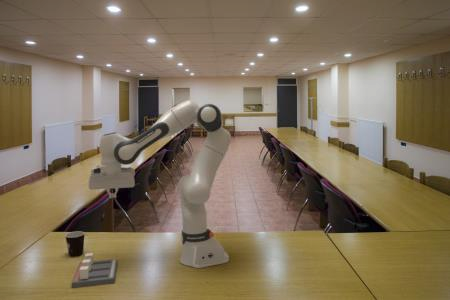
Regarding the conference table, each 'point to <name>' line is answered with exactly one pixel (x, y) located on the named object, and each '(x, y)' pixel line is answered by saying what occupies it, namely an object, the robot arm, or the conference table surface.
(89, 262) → the block
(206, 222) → the robot arm
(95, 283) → the panel
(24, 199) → the conference table surface
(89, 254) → the block
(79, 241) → the coffee mug
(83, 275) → the block
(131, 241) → the conference table surface
